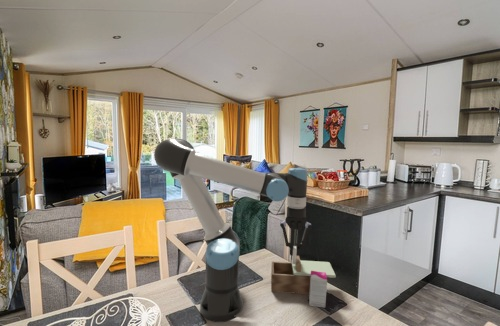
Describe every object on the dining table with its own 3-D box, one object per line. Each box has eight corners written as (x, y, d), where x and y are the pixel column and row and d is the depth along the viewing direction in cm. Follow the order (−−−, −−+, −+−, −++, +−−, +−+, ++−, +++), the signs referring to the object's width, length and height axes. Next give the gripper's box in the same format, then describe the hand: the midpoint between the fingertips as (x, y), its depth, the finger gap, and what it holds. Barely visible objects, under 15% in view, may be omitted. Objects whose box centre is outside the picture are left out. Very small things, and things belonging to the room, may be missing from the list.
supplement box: (325, 310, 94) (327, 280, 92) (308, 307, 95) (310, 277, 94) (324, 300, 99) (326, 272, 98) (308, 298, 100) (310, 270, 99)
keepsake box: (271, 293, 103) (271, 274, 102) (271, 279, 114) (271, 261, 113) (312, 296, 101) (313, 277, 101) (308, 281, 112) (308, 263, 112)
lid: (293, 275, 101) (294, 265, 101) (291, 262, 112) (291, 253, 112) (335, 277, 100) (336, 267, 100) (329, 264, 111) (329, 255, 111)
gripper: (280, 208, 101) (278, 266, 103) (314, 209, 100) (311, 268, 102) (279, 203, 109) (277, 257, 111) (311, 204, 108) (308, 259, 110)
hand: (293, 262), depth 106 cm, fingers closed
